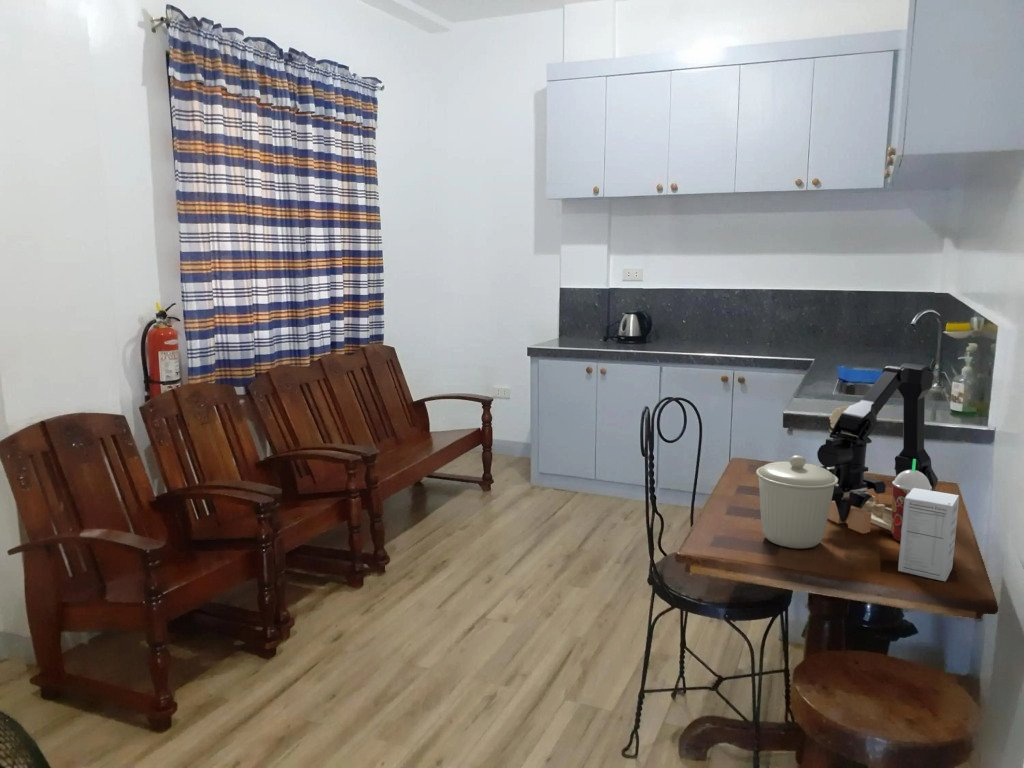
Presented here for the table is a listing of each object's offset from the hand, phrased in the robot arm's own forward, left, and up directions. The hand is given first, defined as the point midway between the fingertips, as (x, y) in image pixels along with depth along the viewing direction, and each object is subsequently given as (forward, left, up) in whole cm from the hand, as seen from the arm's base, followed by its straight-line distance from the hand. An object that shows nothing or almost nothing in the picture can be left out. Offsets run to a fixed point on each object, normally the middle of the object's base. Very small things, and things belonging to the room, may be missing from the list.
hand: (847, 520), depth 191 cm
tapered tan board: (0, 0, -1) cm, 1 cm away
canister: (+21, +3, -1) cm, 21 cm away
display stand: (-11, 0, -1) cm, 11 cm away
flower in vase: (-21, -24, -1) cm, 32 cm away
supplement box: (+6, +27, -1) cm, 28 cm away
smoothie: (-6, +13, -1) cm, 14 cm away
